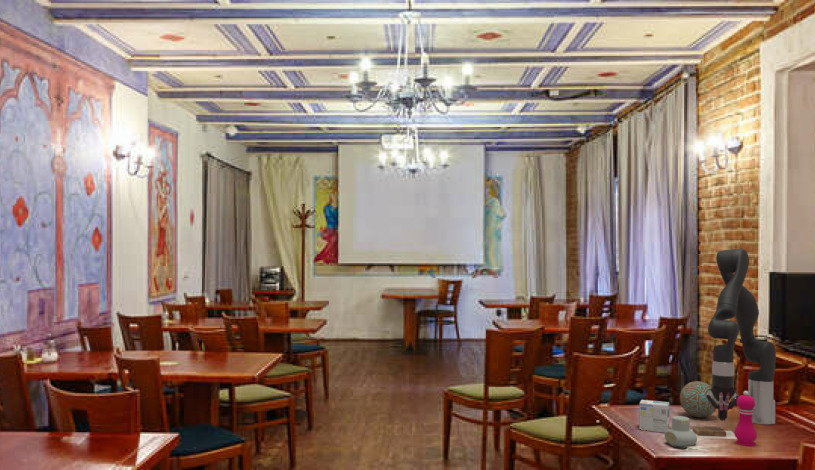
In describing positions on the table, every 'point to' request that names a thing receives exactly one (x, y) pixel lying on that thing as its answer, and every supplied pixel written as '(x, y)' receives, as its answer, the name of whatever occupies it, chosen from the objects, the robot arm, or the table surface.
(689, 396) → the decorative sphere
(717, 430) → the wooden block
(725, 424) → the table surface
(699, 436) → the board
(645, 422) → the light bulb box
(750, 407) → the pepper mill
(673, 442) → the air freshener
